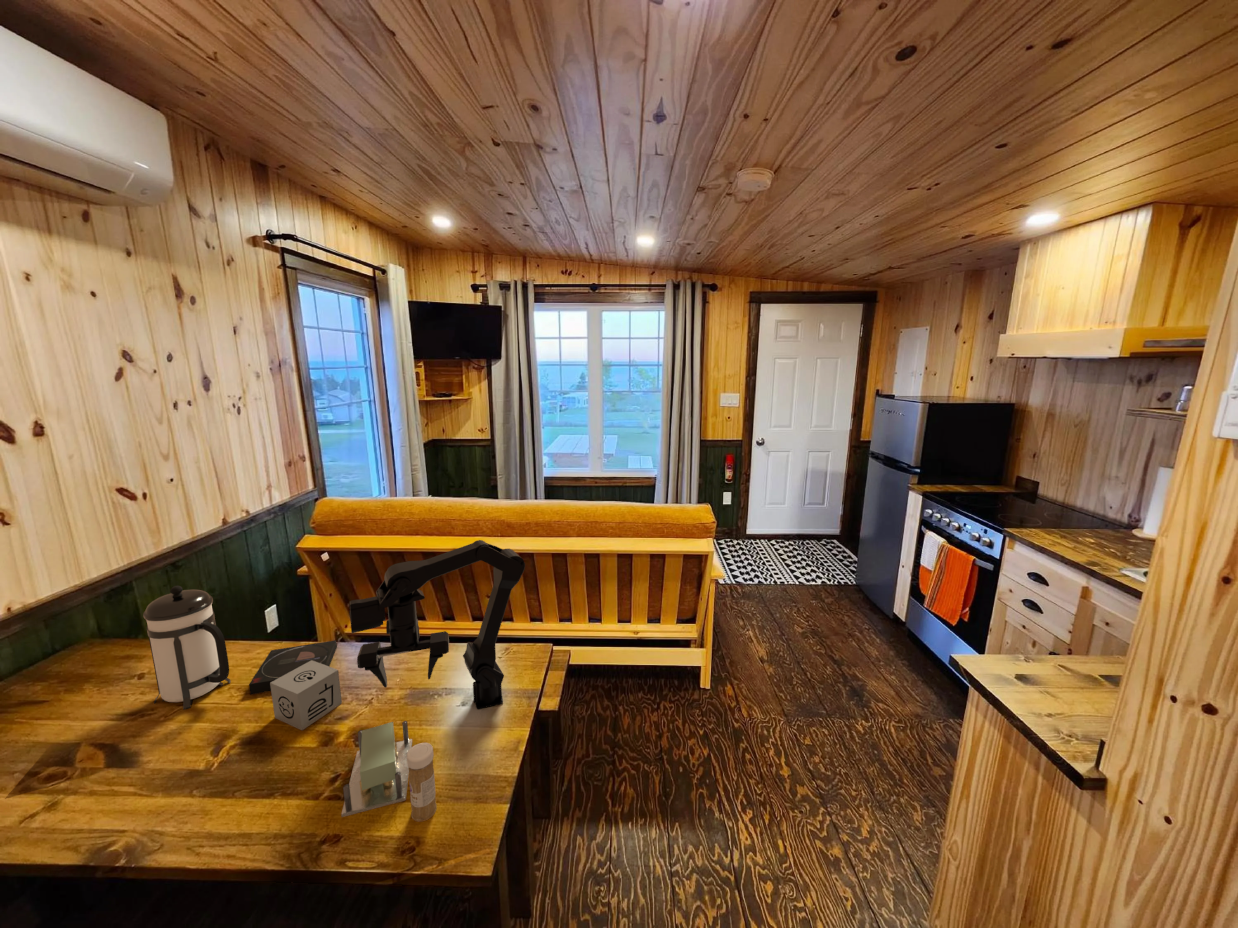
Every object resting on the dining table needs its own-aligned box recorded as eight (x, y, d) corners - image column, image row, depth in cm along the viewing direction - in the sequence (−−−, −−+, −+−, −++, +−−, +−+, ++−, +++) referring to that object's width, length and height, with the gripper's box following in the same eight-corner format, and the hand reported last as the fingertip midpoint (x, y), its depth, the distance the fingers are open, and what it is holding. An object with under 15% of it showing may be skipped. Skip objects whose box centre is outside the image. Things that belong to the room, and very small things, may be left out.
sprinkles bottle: (407, 813, 89) (401, 751, 87) (429, 797, 92) (425, 737, 90) (418, 828, 86) (413, 764, 84) (441, 811, 89) (437, 749, 87)
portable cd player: (337, 651, 143) (336, 639, 142) (324, 684, 127) (322, 671, 126) (273, 661, 137) (271, 648, 136) (250, 698, 121) (248, 684, 121)
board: (363, 747, 100) (361, 730, 100) (394, 737, 103) (393, 721, 102) (362, 790, 90) (360, 772, 89) (396, 778, 92) (394, 760, 92)
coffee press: (141, 724, 111) (118, 607, 106) (167, 685, 125) (148, 580, 120) (233, 701, 119) (216, 591, 114) (247, 668, 133) (233, 568, 128)
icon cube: (342, 705, 118) (338, 669, 117) (302, 732, 109) (297, 693, 108) (315, 694, 122) (311, 660, 120) (275, 719, 113) (270, 682, 111)
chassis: (357, 754, 103) (355, 730, 102) (412, 742, 106) (410, 719, 105) (341, 818, 88) (338, 790, 87) (405, 801, 91) (403, 774, 90)
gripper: (447, 598, 116) (450, 655, 119) (362, 609, 110) (368, 669, 113) (446, 619, 106) (450, 681, 109) (353, 633, 100) (360, 699, 103)
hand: (407, 682), depth 109 cm, fingers open, 9 cm apart
